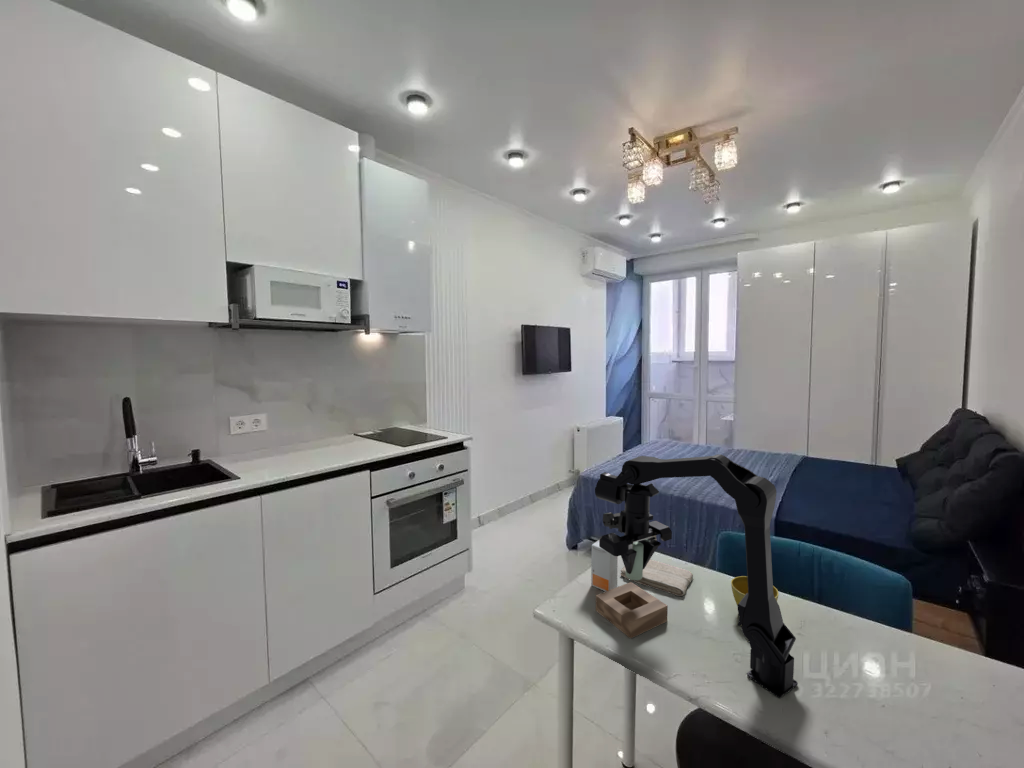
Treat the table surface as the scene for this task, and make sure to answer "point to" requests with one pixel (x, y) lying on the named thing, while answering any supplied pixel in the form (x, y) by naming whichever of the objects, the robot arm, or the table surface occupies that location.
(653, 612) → the walnut socket
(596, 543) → the skincare box
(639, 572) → the sage peg
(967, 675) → the table surface
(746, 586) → the yellow bowl
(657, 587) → the washcloth
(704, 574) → the table surface
